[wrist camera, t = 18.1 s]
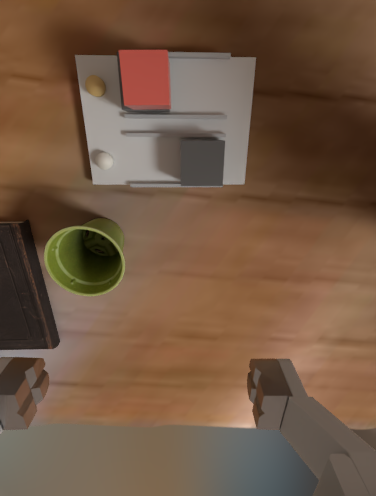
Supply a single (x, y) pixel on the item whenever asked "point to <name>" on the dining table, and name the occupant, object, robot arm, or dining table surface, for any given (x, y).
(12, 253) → the hardcover book
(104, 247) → the plant pot
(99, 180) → the breaker panel
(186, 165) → the block
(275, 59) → the dining table surface
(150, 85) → the red block
